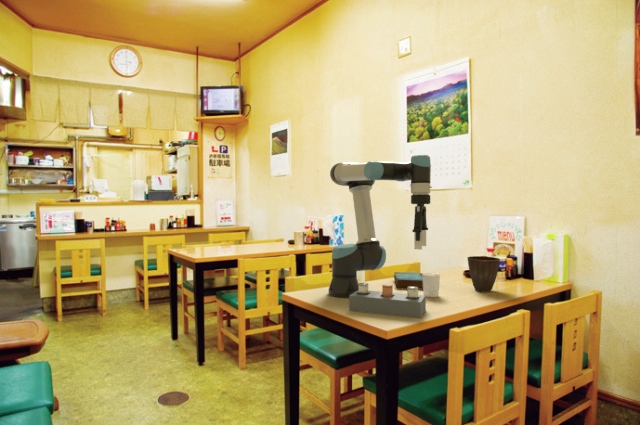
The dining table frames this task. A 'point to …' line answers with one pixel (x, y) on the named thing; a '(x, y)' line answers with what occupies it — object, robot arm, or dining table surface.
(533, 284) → the dining table surface
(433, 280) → the white cup
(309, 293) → the dining table surface
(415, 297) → the silver knob
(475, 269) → the plant pot
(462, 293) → the dining table surface
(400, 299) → the grey socket block
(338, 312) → the dining table surface
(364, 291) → the silver knob
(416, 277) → the book
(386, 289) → the terracotta knob middle
